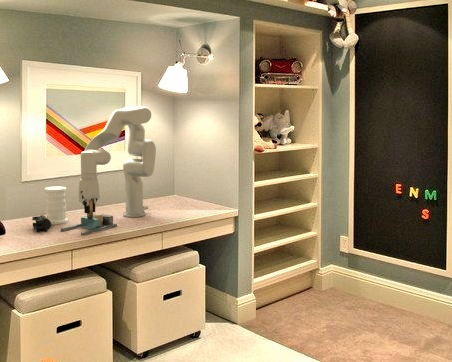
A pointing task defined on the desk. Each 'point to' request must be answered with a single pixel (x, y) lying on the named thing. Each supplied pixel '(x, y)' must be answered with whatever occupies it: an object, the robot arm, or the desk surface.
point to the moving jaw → (90, 219)
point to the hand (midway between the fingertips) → (89, 212)
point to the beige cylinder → (100, 217)
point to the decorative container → (56, 204)
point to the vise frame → (106, 223)
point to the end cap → (41, 223)
